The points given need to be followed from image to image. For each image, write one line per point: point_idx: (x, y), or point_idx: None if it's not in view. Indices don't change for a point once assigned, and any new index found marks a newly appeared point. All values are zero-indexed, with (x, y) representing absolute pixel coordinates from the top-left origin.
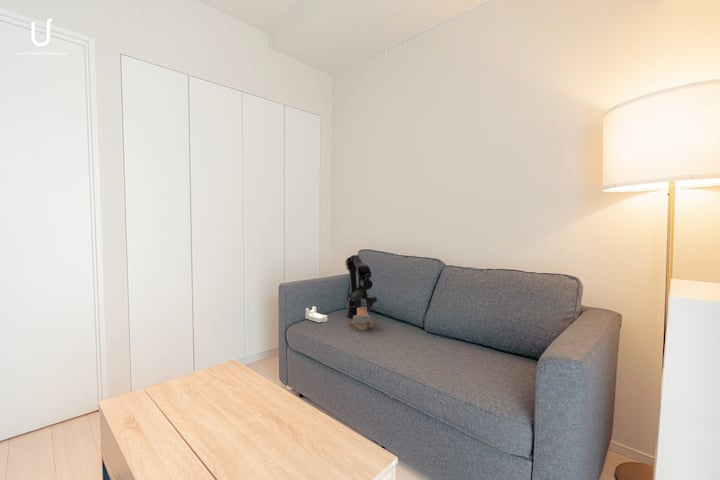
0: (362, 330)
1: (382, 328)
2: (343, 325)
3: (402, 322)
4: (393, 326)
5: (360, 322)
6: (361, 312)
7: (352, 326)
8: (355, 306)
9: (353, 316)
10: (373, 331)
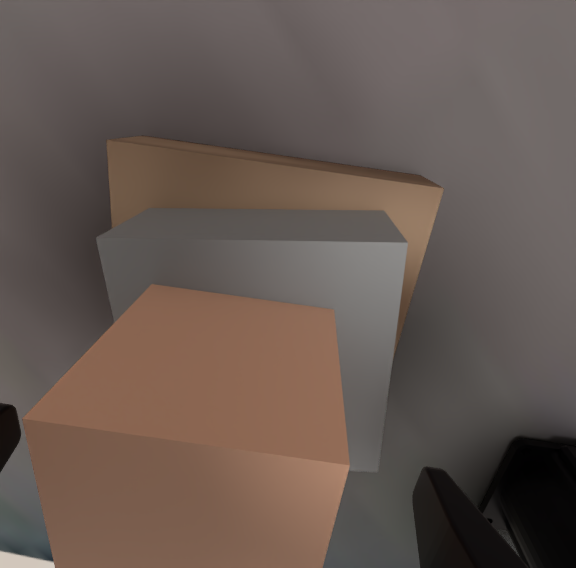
0: (150, 137)
1: (40, 353)
2: (532, 146)
3: (47, 557)
4: (16, 452)
5: (205, 213)
6: (158, 356)
7: (359, 167)
8: (496, 558)
9: (390, 245)
10: (28, 207)
